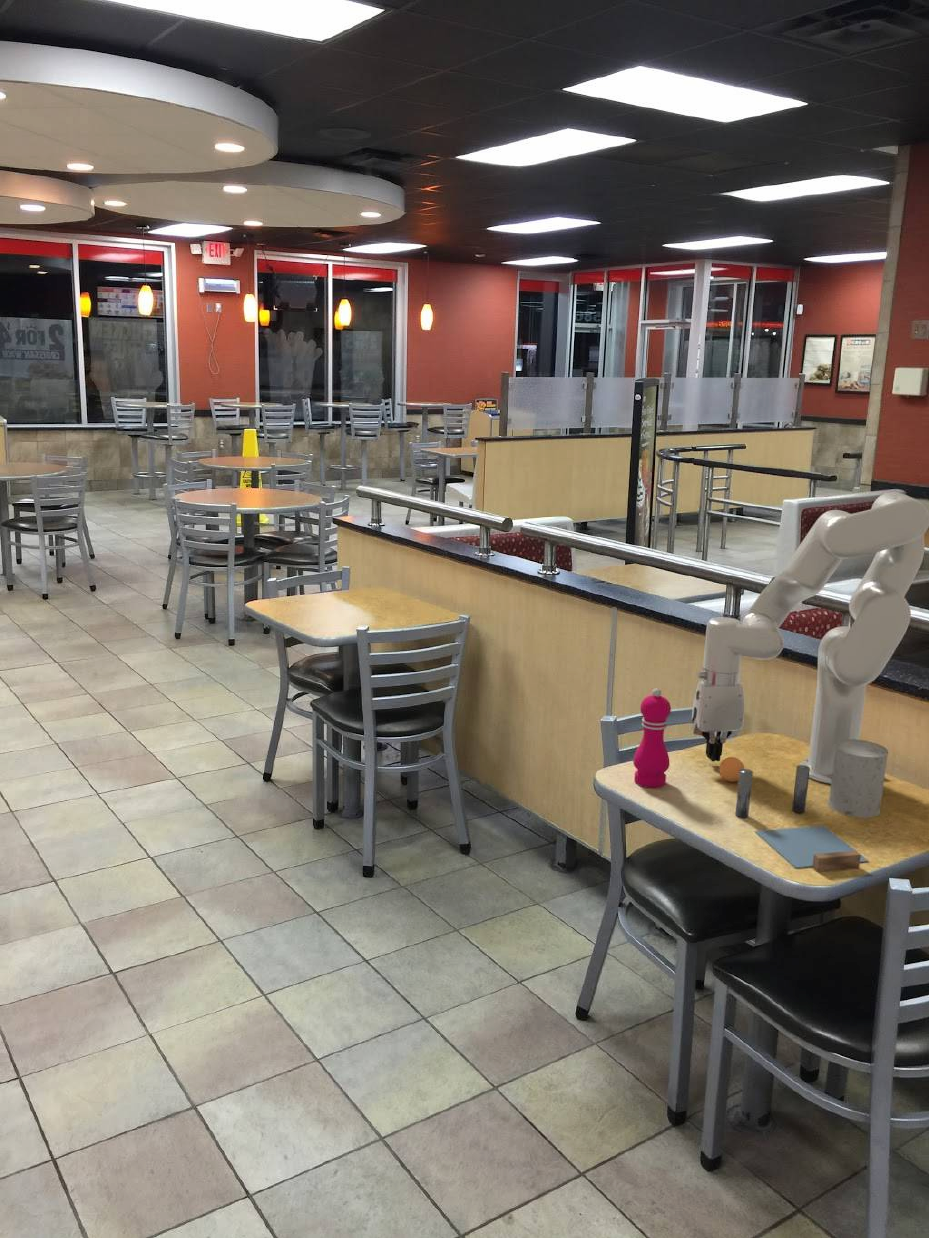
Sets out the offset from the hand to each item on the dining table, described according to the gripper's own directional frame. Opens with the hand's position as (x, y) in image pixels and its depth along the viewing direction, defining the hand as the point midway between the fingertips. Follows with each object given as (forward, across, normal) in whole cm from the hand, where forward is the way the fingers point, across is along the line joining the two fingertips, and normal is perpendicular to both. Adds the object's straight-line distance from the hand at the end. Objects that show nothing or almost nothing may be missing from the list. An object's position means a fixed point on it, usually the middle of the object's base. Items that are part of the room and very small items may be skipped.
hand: (713, 758), depth 216 cm
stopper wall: (+2, +1, -46) cm, 46 cm away
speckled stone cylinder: (+2, +18, -24) cm, 30 cm away
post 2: (+2, +6, -24) cm, 25 cm away
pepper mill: (+2, -17, -7) cm, 18 cm away
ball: (-1, 0, -8) cm, 8 cm away
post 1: (+2, -6, -24) cm, 25 cm away
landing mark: (+2, +1, -38) cm, 38 cm away
